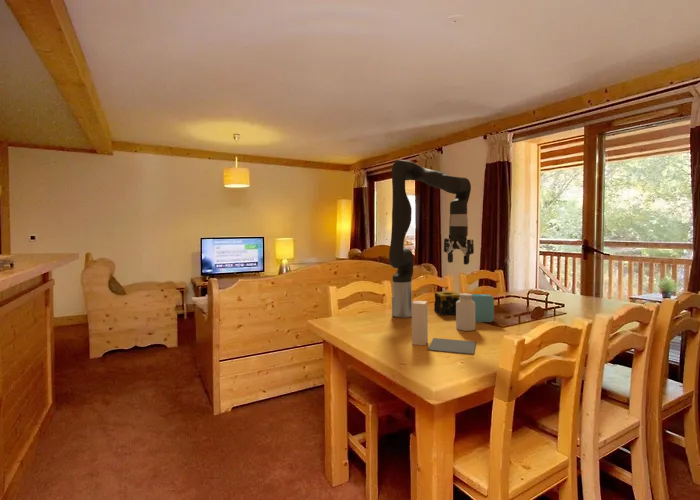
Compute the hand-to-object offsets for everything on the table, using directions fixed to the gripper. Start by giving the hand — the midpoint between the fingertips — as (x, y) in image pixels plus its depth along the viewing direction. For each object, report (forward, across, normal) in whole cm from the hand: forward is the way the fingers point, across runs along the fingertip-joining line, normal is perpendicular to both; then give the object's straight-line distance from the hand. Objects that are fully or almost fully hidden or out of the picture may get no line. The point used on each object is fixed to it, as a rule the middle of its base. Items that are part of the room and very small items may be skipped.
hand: (458, 263), depth 163 cm
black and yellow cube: (+29, -23, +18) cm, 41 cm away
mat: (+28, +15, -19) cm, 37 cm away
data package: (+28, -3, +18) cm, 34 cm away
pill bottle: (+28, +2, +3) cm, 29 cm away
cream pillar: (+28, +5, -26) cm, 39 cm away
